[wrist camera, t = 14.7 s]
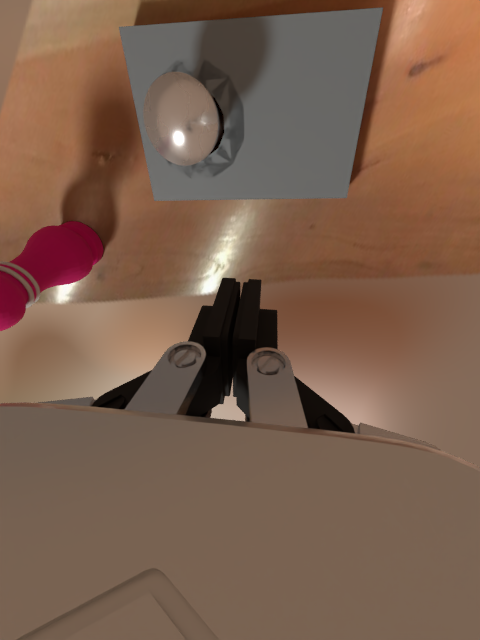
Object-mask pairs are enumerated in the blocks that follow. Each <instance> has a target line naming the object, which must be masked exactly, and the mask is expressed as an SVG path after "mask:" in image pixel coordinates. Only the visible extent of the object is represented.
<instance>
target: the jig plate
mask: <svg viewBox="0 0 480 640" xmlns="http://www.w3.org/2000/svg"><path fill="white" fill-rule="evenodd" d="M382 11H383V8H369V9H356V10H342V11H329V12H315V13H302V14H288V15H275V16H261V17H248V18H234V19H221V20H207V21H194V22H180V23H167V24H153V25H140V26H126V27H119V30H120V35H121V40H122V45H123V50H124V55H125V59H126V64H127V69H128V74H129V79H130V84H131V89H132V94H133V98H134V103H135V108H136V113H137V118H138V123H139V128H140V133H141V138H142V142H143V147H144V152H145V157H146V162H147V167H148V172H149V177H150V181H151V186H152V191H153V196H154V201H166V200H235V199H304V198H347V193H348V188H349V183H350V178H351V172H352V167H353V162H354V157H355V152H356V146H357V141H358V136H359V131H360V126H361V120H362V115H363V110H364V105H365V99H366V94H367V89H368V84H369V79H370V73H371V68H372V63H373V58H374V53H375V47H376V42H377V37H378V32H379V26H380V21H381V16H382ZM168 72H182V73H186V74H188V75H190V76H192V77H194V78H195V79H197V80H198V81H199V82H201V83H202V84H203V85H204V86H205V87H206V88H207V90H208V91H209V92H210V94H211V95H212V96H213V97H215V99H216V101H217V103H218V105H219V107H220V108H221V110H222V112H223V114H224V135H223V138H222V140H221V143H220V145H219V148H218V149H216V150H215V151H214V152H213V153H211V154H210V155H208V156H207V157H206V158H205V159H204V160H202V161H200V162H198V163H196V164H193V165H188V166H183V165H177V164H174V163H172V162H170V161H168V160H167V159H165V158H164V157H163V156H161V155H160V154H159V152H158V151H157V150H156V149H155V148H154V146H153V145H152V143H151V141H150V139H149V137H148V135H147V132H146V128H145V124H144V117H143V108H144V101H145V97H146V94H147V92H148V89H149V88H150V86H151V85H152V83H153V82H154V81H155V80H156V79H157V78H158V77H160V76H161V75H163V74H166V73H168Z"/></svg>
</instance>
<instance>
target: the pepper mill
mask: <svg viewBox="0 0 480 640" xmlns="http://www.w3.org/2000/svg"><path fill="white" fill-rule="evenodd" d="M102 256H103V245H102V242H101V240H100V238H99V237H98V235H97V234H96V233H95V232H94V231H93V230H92V229H91V228H90V227H88V226H87V225H85V224H83V223H81V222H77V221H69V222H66V223H64V224H62V225H59V226H47V227H44V228H42V229H40V230H38V231H37V232H35V233H34V234H33V235H32V236H31V237H30V239H29V240H28V242H27V244H26V246H25V248H24V250H23V252H22V253H21V254H20V255H19V256H18V257H17V258H15V259H14V260H12V261H10V262H0V331H2V330H5V329H8V328H10V327H11V326H13V325H15V324H16V323H18V322H19V321H20V319H22V317H23V316H24V313H25V310H26V308H28V307H30V306H31V305H32V304H33V303H35V302H37V301H38V299H39V298H40V293H41V292H42V291H43V290H45V289H47V288H50V287H53V286H57V285H64V284H70V283H73V282H76V281H79V280H81V279H82V278H84V277H85V276H87V275H88V274H89V273H90V271H91V269H92V266H93V265H94V264H96V263H97V262H98V261H99V260H100V259H101V258H102Z"/></svg>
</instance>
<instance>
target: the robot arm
mask: <svg viewBox="0 0 480 640" xmlns="http://www.w3.org/2000/svg"><path fill="white" fill-rule="evenodd" d="M260 292H261V280H254V279H249V281H248V282H244V283H243V288H242V293H241V298H240V282H236V279H235V278H222V281H221V284H220V287H219V290H218V293H217V296H216V299H215V301H214V304H213V306H202V308H201V310H200V313H199V315H198V318H197V320H196V323H195V325H194V327H193V330H192V333H191V335H190V338H189V340H188V341H187V342H180V343H177V344H174V345H173V346H171V347H170V348H168V349H167V351H166V352H165V353H164V354H163V356H162V357H161V359H160V360H159V361H158V363H157V364H156V366H155V367H154V368H153V370H151V371H149V372H147V373H145V374H143V375H141V376H139V377H137V378H135V379H133V380H131V381H129V382H127V383H125V384H123V385H121V386H119V387H117V388H115V389H113V390H111V391H109V392H107V393H105V394H104V395H102V396H100V397H99V398H98V399H97V400H94V398H93V397H86V398H77V399H67V400H57V401H48V402H38V403H26V402H24V403H1V404H0V640H480V467H478V466H477V465H475V464H472V463H470V462H468V461H466V460H463V459H461V458H458V457H456V456H454V455H451V454H449V453H446V452H443V451H441V450H440V449H438V448H437V447H436V446H434V445H431V444H429V443H427V442H424V441H421V440H417V439H414V438H411V437H407V436H404V435H400V434H397V433H394V432H390V431H387V430H383V429H380V428H376V427H373V426H370V425H367V424H363V423H360V424H359V426H358V425H355V424H351V423H350V421H349V420H348V419H347V418H346V417H345V416H344V415H343V414H342V413H340V412H339V411H338V410H337V409H335V408H334V407H333V406H331V405H330V404H329V403H328V402H326V401H325V400H324V399H323V398H321V397H320V396H319V395H318V394H316V393H315V392H314V391H313V390H311V389H310V388H309V387H308V386H306V385H305V384H304V383H302V382H301V381H300V380H299V379H297V378H296V377H295V376H294V374H293V370H292V367H291V363H290V360H289V358H288V357H287V356H286V355H285V354H284V353H283V352H281V351H280V350H278V349H277V310H267V309H260V294H261V293H260ZM232 379H233V396H234V397H237V406H238V407H239V408H240V409H241V410H242V411H243V412H244V414H245V422H244V421H235V420H225V419H214V418H210V417H211V413H212V408H213V407H215V406H217V405H218V404H223V403H224V397H225V396H230V391H231V385H232Z"/></svg>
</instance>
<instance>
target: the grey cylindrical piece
mask: <svg viewBox="0 0 480 640" xmlns="http://www.w3.org/2000/svg"><path fill="white" fill-rule="evenodd" d="M143 117H144V124H145V128H146V132H147V135H148V137H149V139H150V141H151V143H152V145H153V146H154V148H155V149H156V150H157V151H158V152H159V154H160V155H161V156H163V157H164V158H165V159H167V160H168V161H170V162H172V163H174V164H177V165H183V166H188V165H193V164H196V163H198V162H200V161H202V160H204V159H205V158H206V157H207V156H208V155H209V154H210V153H211V152H212V150H213V148H214V146H215V145H216V144H217V143H218V141H219V140H220V138H221V136H222V132H223V118H222V115H221V112H220V110H219V108H218V107H217V105H216V104H215V102H214V100H213V97H212V96H211V94H210V92H209V91H208V90H207V88H206V87H205V86H204V85H203V84H202V83H201V82H199V81H198V80H197V79H195V78H194V77H192V76H190V75H188V74H186V73H182V72H168V73H166V74H163V75H161V76H160V77H158V78H157V79H156V80H155V81H154V82H153V83H152V85H151V86H150V88H149V89H148V92H147V94H146V97H145V101H144V108H143Z"/></svg>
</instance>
